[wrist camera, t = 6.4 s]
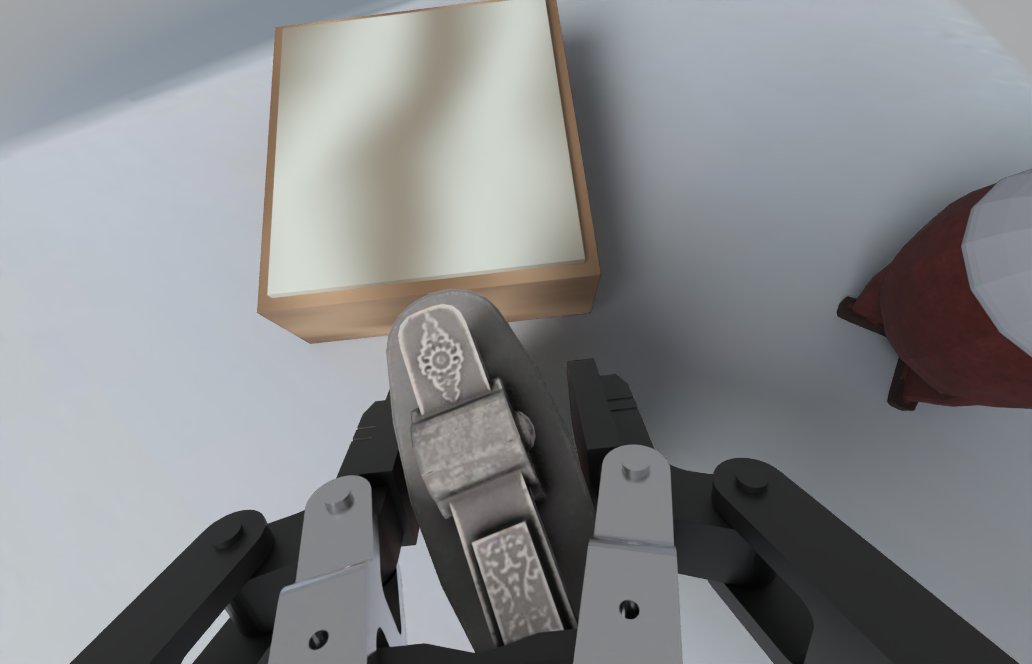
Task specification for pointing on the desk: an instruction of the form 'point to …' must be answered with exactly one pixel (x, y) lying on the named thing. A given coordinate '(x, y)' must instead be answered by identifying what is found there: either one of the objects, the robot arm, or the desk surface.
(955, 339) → the mate gourd
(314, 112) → the wooden flat block
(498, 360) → the lighter
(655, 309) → the desk surface
